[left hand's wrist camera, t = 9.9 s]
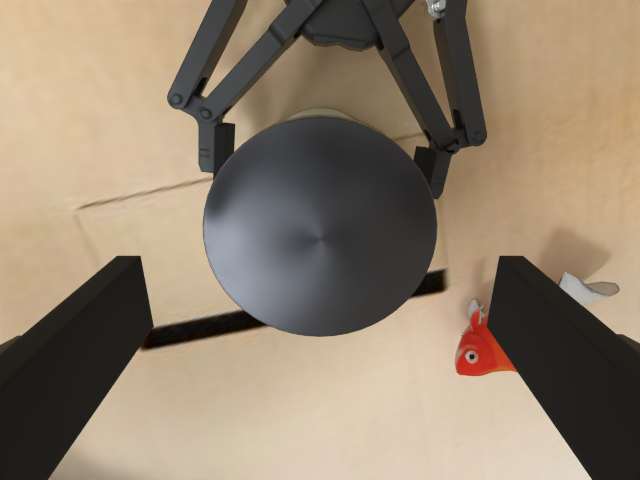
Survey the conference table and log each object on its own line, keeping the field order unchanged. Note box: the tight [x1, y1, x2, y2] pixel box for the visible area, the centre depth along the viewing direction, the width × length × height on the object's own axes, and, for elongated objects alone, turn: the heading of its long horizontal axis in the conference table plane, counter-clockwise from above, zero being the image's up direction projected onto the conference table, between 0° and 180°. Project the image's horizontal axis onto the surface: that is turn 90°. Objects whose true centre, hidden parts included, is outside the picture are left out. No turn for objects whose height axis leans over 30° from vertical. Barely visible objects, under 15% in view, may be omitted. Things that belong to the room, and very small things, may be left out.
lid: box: [203, 114, 437, 337], centre depth 18 cm, size 11×11×2 cm
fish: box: [455, 271, 620, 376], centre depth 34 cm, size 11×16×10 cm
